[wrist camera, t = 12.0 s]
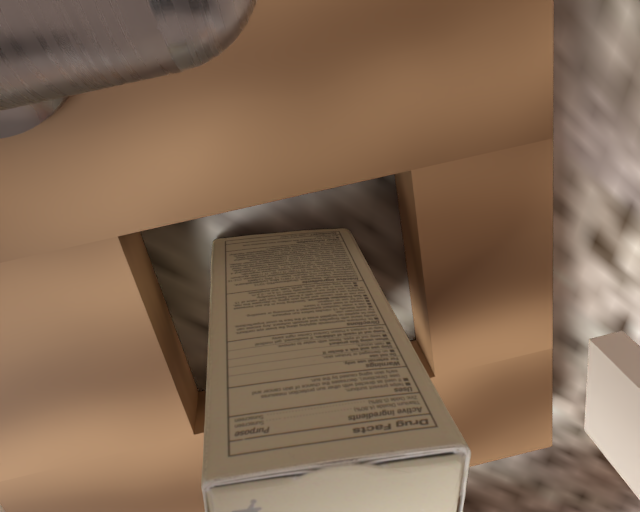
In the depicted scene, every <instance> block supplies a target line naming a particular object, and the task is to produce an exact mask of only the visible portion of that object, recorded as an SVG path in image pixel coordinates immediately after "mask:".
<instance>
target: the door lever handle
mask: <svg viewBox="0 0 640 512" xmlns="http://www.w3.org/2000/svg"><path fill="white" fill-rule="evenodd" d="M256 2H257V0H0V138H7V137H11V136H14V135H18V134H21V133H23V132H26V131H28V130H30V129H32V128H34V127H35V126H37V125H39V124H40V123H42V122H43V121H45V120H46V119H48V118H49V117H50V116H52V115H53V114H54V113H55V112H56V111H57V110H58V109H59V108H60V107H61V106H62V105H63V103H64V102H65V101H66V99H67V98H68V96H72V95H77V94H81V93H86V92H91V91H95V90H100V89H105V88H109V87H114V86H119V85H123V84H128V83H133V82H137V81H142V80H147V79H151V78H156V77H161V76H165V75H170V74H175V73H179V72H183V71H185V70H188V69H192V68H195V67H198V66H201V65H203V64H205V63H207V62H208V61H210V60H212V59H213V58H215V57H217V56H219V55H220V54H221V53H222V52H223V51H225V50H226V49H227V48H228V47H229V46H230V45H231V44H232V43H233V42H234V41H235V40H236V39H237V37H238V36H239V35H240V33H241V32H242V30H243V29H244V28H245V26H246V25H247V23H248V21H249V18H250V16H251V14H252V12H253V10H254V8H255V5H256Z"/></svg>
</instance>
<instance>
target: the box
mask: <svg viewBox="0 0 640 512" xmlns="http://www.w3.org/2000/svg"><path fill="white" fill-rule="evenodd" d="M470 458H471V450H470V448H469V447H468V445H467V443H466V441H465V439H464V438H463V436H462V434H461V432H460V431H459V429H458V427H457V426H456V424H455V422H454V420H453V419H452V417H451V415H450V414H449V412H448V410H447V408H446V406H445V405H444V403H443V401H442V399H441V397H440V395H439V394H438V392H437V390H436V388H435V386H434V385H433V383H432V381H431V379H430V377H429V375H428V374H427V372H426V370H425V368H424V366H423V364H422V363H421V361H420V359H419V357H418V355H417V353H416V352H415V350H414V348H413V346H412V344H411V342H410V340H409V339H408V337H407V335H406V333H405V331H404V330H403V328H402V326H401V324H400V322H399V320H398V319H397V317H396V315H395V313H394V311H393V310H392V308H391V306H390V304H389V303H388V301H387V299H386V297H385V295H384V293H383V292H382V290H381V288H380V286H379V284H378V282H377V281H376V279H375V277H374V275H373V273H372V271H371V269H370V267H369V265H368V264H367V262H366V260H365V258H364V256H363V254H362V252H361V251H360V249H359V247H358V245H357V243H356V241H355V239H354V237H353V236H352V234H351V232H350V230H348V229H345V228H339V229H318V230H302V231H291V232H281V233H269V234H257V235H247V236H239V237H230V238H221V239H215V240H214V241H213V243H212V254H211V286H210V317H209V334H208V357H207V380H206V403H205V425H204V444H203V466H202V479H201V488H202V494H203V500H204V509H205V512H463V507H464V500H465V495H466V488H467V479H468V472H469V464H470Z"/></svg>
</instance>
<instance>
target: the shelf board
mask: <svg viewBox="0 0 640 512" xmlns="http://www.w3.org/2000/svg"><path fill="white" fill-rule="evenodd" d="M553 33H554V0H257V2H256V5H255V8H254V10H253V12H252V14H251V16H250V18H249V21H248V23H247V25H246V26H245V28H244V29H243V30H242V32H241V33H240V35H239V36H238V37H237V39H236V40H235V41H234V42H233V43H232V44H231V45H230V46H229V47H228V48H227V49H226V50H225V51H223V52H222V53H221V54H220V55H219V56H217V57H215V58H213V59H212V60H210V61H208V62H207V63H205V64H203V65H201V66H198V67H195V68H192V69H188V70H185V71H183V72H179V73H175V74H170V75H165V76H161V77H156V78H151V79H147V80H142V81H137V82H133V83H128V84H123V85H119V86H114V87H109V88H105V89H100V90H95V91H91V92H86V93H81V94H77V95H72V96H68V98H67V99H66V101H65V102H64V103H63V105H62V106H61V107H60V108H59V109H58V110H57V111H56V112H55V113H54V114H53V115H52V116H50V117H49V118H48V119H46V120H45V121H43V122H42V123H40V124H39V125H37V126H35V127H34V128H32V129H30V130H28V131H26V132H23V133H21V134H18V135H14V136H11V137H7V138H0V504H1V506H2V507H3V509H4V510H5V512H205V509H204V500H203V494H202V488H201V479H202V466H203V444H204V425H205V403H206V390H204V391H200V392H198V390H197V387H196V384H195V381H194V379H193V376H192V373H191V371H190V368H189V365H188V362H187V360H186V357H185V354H184V351H183V349H182V346H181V343H180V340H179V338H178V335H177V332H176V329H175V327H174V324H173V321H172V319H171V316H170V313H169V310H168V308H167V305H166V302H165V299H164V297H163V294H162V291H161V288H160V286H159V283H158V280H157V277H156V275H155V272H154V269H153V266H152V264H151V261H150V258H149V256H148V253H147V250H146V247H145V245H144V242H143V239H142V236H141V234H140V231H144V230H149V229H153V228H158V227H162V226H166V225H171V224H175V223H180V222H184V221H189V220H193V219H197V218H202V217H206V216H211V215H215V214H220V213H224V212H228V211H233V210H237V209H242V208H246V207H251V206H255V205H260V204H264V203H268V202H273V201H277V200H282V199H286V198H291V197H295V196H299V195H304V194H308V193H313V192H317V191H322V190H326V189H331V188H335V187H339V186H344V185H348V184H353V183H357V182H362V181H366V180H370V179H375V178H379V177H384V176H388V175H393V174H394V175H395V182H396V190H397V198H398V205H399V213H400V220H401V228H402V236H403V243H404V251H405V258H406V266H407V274H408V281H409V289H410V296H411V304H412V312H413V319H414V327H415V335H416V340H414V341H410V342H411V344H412V346H413V348H414V350H415V352H416V353H417V355H418V357H419V359H420V361H421V363H422V364H423V366H424V368H425V370H426V372H427V374H428V375H429V377H430V379H431V381H432V383H433V385H434V386H435V388H436V390H437V392H438V394H439V395H440V397H441V399H442V401H443V403H444V405H445V406H446V408H447V410H448V412H449V414H450V415H451V417H452V419H453V420H454V422H455V424H456V426H457V427H458V429H459V431H460V432H461V434H462V436H463V438H464V439H465V441H466V443H467V445H468V447H469V448H470V450H471V458H470V464H469V467H471V466H475V465H479V464H483V463H487V462H491V461H495V460H499V459H503V458H507V457H511V456H515V455H519V454H523V453H527V452H531V451H535V450H539V449H543V448H547V447H551V446H552V352H553Z"/></svg>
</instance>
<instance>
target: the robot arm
mask: <svg viewBox="0 0 640 512" xmlns="http://www.w3.org/2000/svg"><path fill="white" fill-rule="evenodd" d="M584 431H585V432H586V433H587V434H588V436H589V437H590V438H591V439H592V441H593V442H594V443H595V444H596V446H597V447H598V448H599V449H600V451H601V452H602V453H603V454H604V456H605V457H606V458H607V460H608V461H609V462H610V463H611V465H612V466H613V467H614V468H615V470H616V471H617V472H618V473H619V475H620V476H621V477H622V478H623V480H624V481H625V482H626V483H627V485H628V486H629V487H630V488H631V490H632V491H633V492H634V494H635V495H636V496H637V497H638V499H639V500H640V346H639V345H638V344H637V343H635V342H634V341H633V340H632V339H631V338H630V337H629V336H628V335H626V334H625V333H624V332H623V331H620V332H616V333H612V334H608V335H603V336H599V337H595V338H591V339H589V352H588V370H587V388H586V407H585V425H584ZM0 512H5V510H4V509H3V507H2V506H1V504H0Z"/></svg>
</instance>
